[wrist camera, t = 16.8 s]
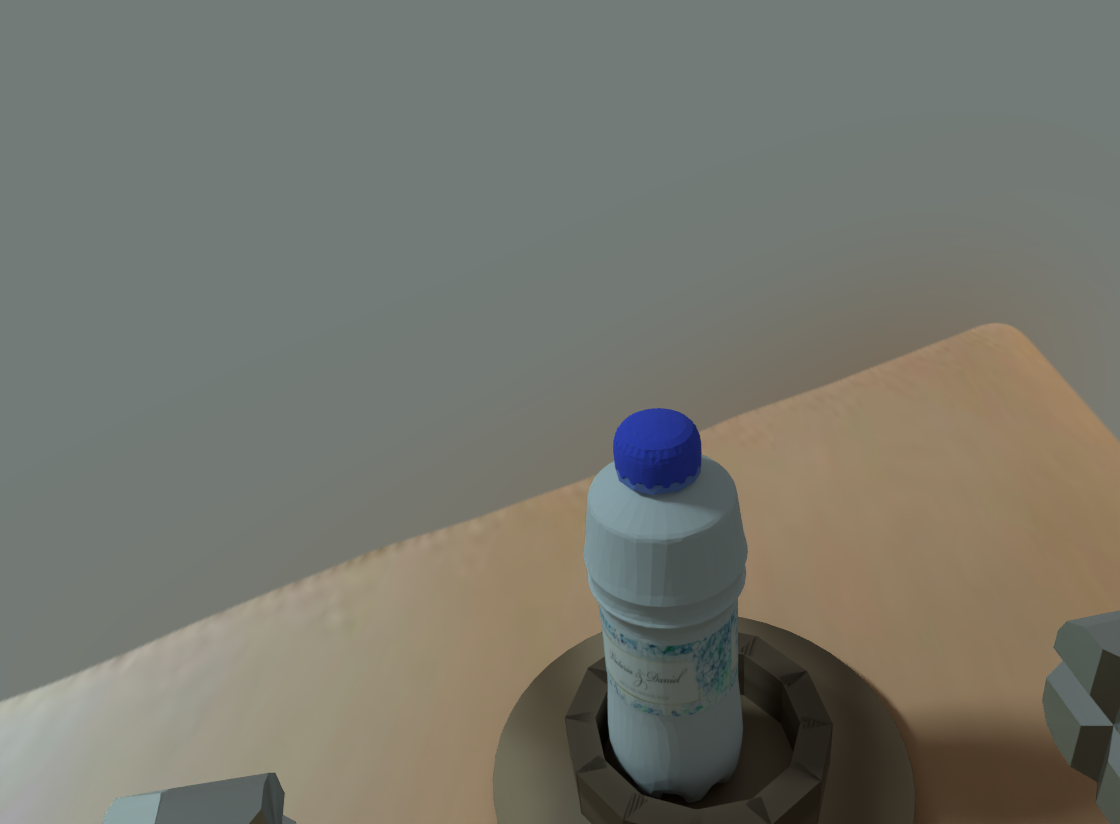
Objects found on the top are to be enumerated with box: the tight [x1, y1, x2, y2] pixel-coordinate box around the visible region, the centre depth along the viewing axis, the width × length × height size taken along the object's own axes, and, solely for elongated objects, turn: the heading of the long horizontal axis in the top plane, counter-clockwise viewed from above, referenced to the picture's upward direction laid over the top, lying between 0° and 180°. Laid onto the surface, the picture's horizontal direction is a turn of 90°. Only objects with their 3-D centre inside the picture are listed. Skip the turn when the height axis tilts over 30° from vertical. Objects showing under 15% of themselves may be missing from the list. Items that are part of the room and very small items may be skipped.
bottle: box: [584, 408, 748, 803], centre depth 44 cm, size 7×7×20 cm
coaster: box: [493, 617, 915, 824], centre depth 48 cm, size 20×20×4 cm
